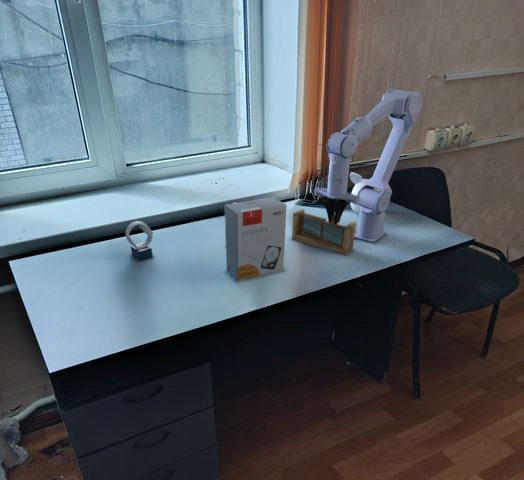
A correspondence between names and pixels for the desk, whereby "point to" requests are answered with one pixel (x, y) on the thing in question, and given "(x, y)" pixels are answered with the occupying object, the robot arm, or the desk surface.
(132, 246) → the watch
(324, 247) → the window frame
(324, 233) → the sash
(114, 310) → the desk surface
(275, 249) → the hard drive box
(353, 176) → the piggy bank
